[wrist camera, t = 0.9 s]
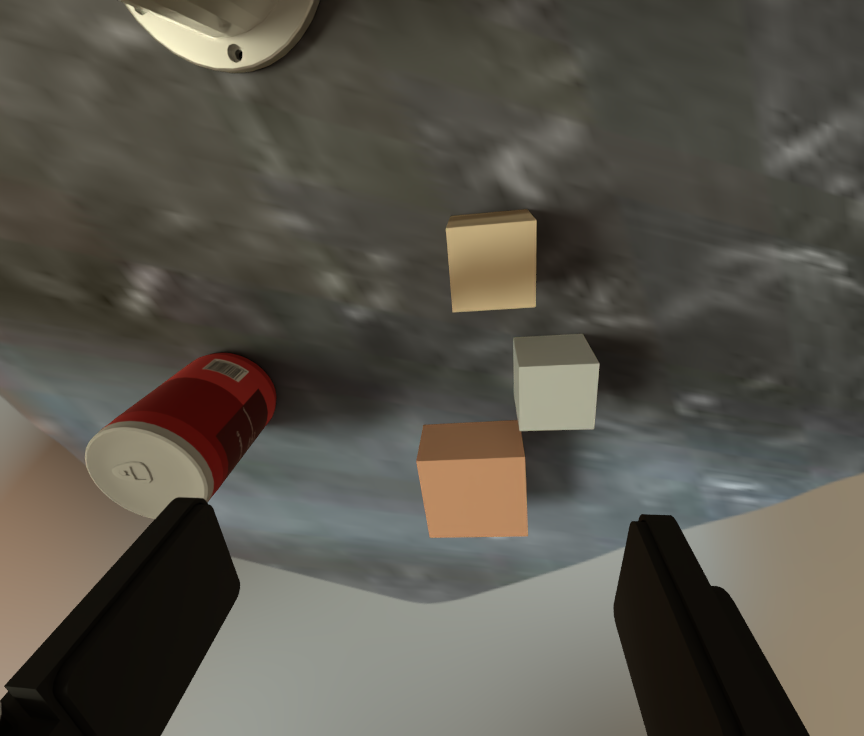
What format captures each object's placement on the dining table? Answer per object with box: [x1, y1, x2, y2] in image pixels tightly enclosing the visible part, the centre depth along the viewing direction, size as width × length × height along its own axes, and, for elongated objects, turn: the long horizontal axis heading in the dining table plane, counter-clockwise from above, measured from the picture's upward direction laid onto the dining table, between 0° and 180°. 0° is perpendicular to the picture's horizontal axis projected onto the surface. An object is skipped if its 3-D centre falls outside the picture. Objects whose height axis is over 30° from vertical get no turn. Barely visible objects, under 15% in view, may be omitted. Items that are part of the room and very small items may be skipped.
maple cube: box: [446, 209, 537, 312], centre depth 27 cm, size 5×5×5 cm
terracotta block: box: [416, 420, 528, 538], centre depth 36 cm, size 8×8×5 cm
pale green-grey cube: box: [513, 334, 600, 431], centre depth 31 cm, size 5×5×5 cm
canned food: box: [85, 353, 276, 519], centre depth 32 cm, size 8×8×11 cm
